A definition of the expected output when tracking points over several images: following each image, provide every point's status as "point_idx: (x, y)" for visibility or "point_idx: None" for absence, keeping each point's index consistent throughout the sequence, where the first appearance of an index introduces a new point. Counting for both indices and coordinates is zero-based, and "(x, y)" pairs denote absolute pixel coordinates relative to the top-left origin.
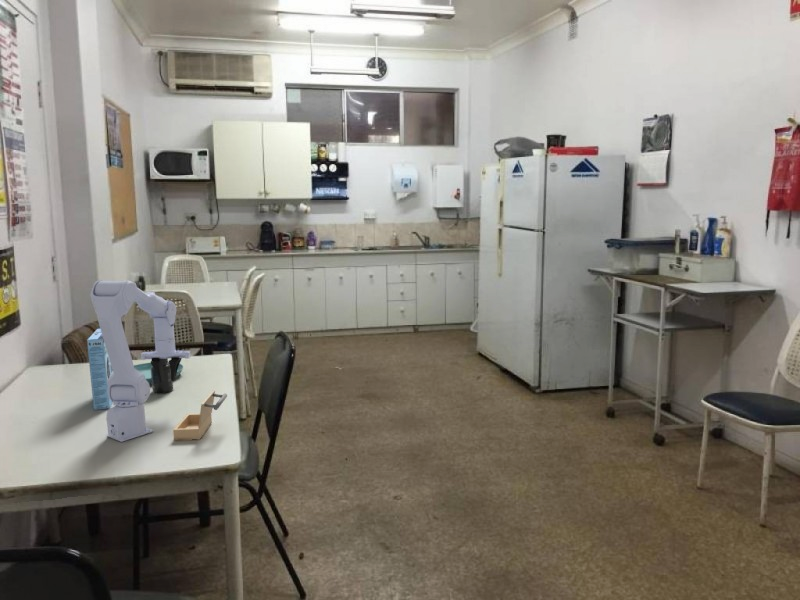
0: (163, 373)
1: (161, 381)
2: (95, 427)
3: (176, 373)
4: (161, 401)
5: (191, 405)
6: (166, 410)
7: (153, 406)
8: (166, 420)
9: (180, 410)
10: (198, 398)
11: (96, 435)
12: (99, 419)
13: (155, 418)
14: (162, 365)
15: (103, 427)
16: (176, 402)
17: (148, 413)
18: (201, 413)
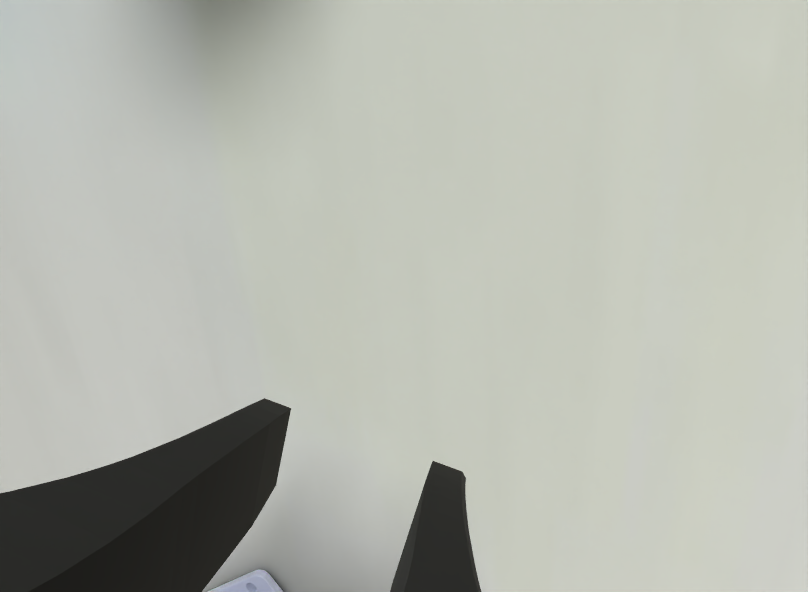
0: (235, 454)
1: (269, 489)
2: (38, 461)
3: (468, 540)
4: (343, 3)
5: (641, 263)
6: (412, 318)
7: (291, 156)
8: None
9: (529, 368)
10: (758, 15)
11: None
12: (2, 326)
13: (348, 467)
14: (120, 578)
15: None
16: (495, 98)
17: (282, 335)
18: None
